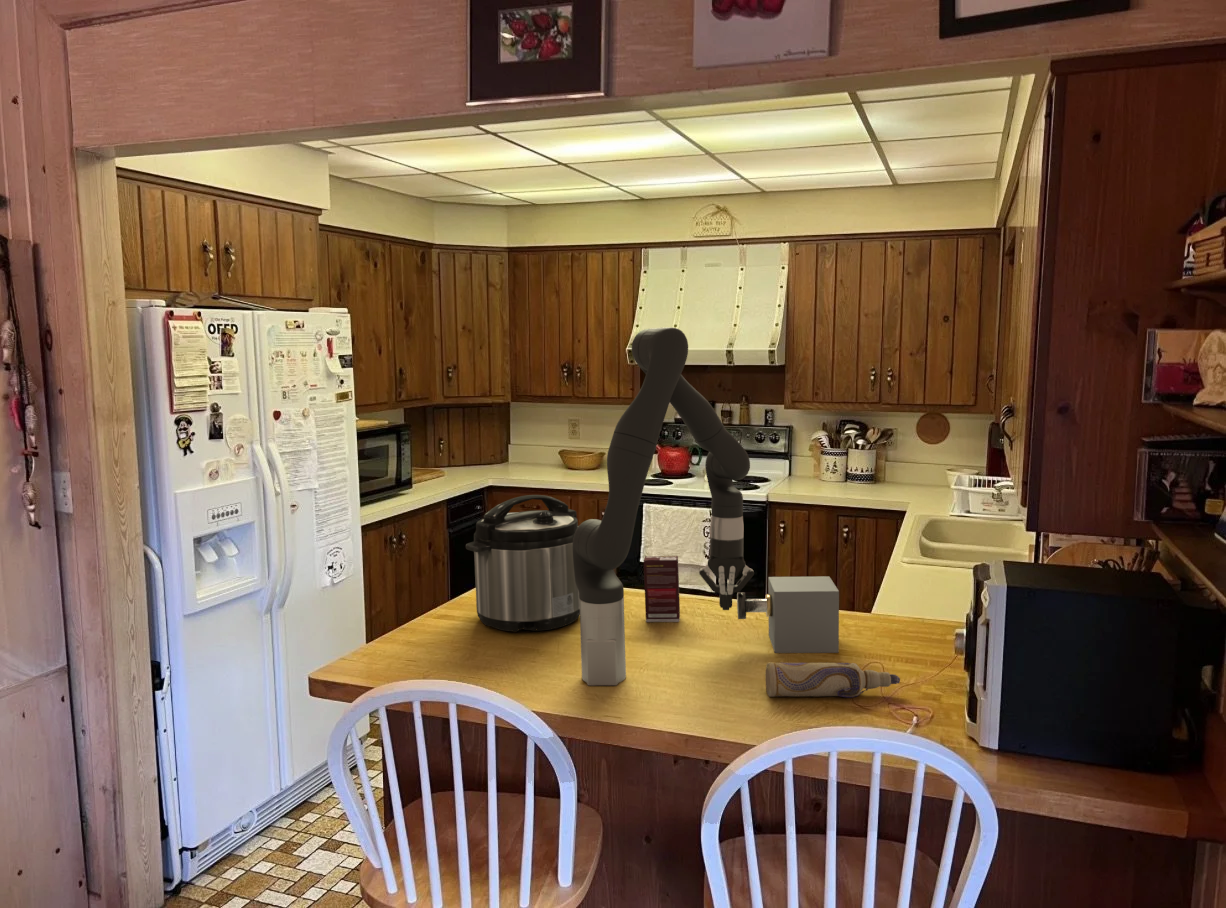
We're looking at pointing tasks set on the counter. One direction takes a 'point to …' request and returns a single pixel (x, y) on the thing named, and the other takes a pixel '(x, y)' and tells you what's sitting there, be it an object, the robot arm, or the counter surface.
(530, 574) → the pressure cooker
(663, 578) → the supplement box
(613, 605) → the robot arm
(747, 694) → the counter surface
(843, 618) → the counter surface
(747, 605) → the shaft
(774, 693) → the decorative bottle
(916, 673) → the counter surface
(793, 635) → the bearing block
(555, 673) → the counter surface
